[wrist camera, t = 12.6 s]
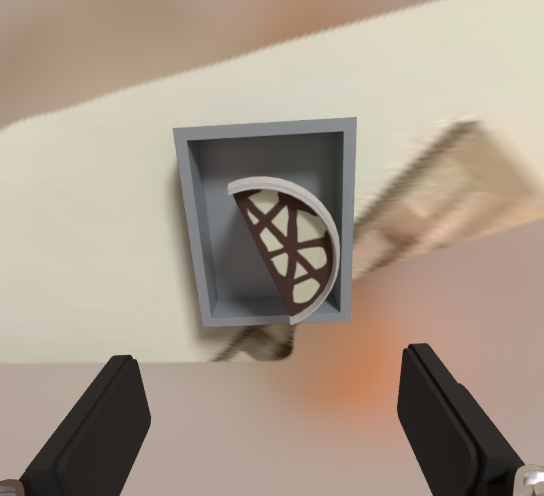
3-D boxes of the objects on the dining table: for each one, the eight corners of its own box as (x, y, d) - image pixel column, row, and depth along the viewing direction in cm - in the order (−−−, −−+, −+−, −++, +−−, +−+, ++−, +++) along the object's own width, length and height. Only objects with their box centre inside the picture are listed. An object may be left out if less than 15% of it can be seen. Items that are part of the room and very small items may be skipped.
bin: (343, 121, 29) (356, 117, 25) (340, 297, 36) (350, 320, 31) (188, 130, 30) (172, 128, 25) (212, 303, 36) (202, 327, 31)
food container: (340, 257, 33) (367, 303, 23) (288, 277, 34) (293, 330, 24) (297, 146, 29) (309, 148, 20) (239, 172, 30) (224, 187, 21)
